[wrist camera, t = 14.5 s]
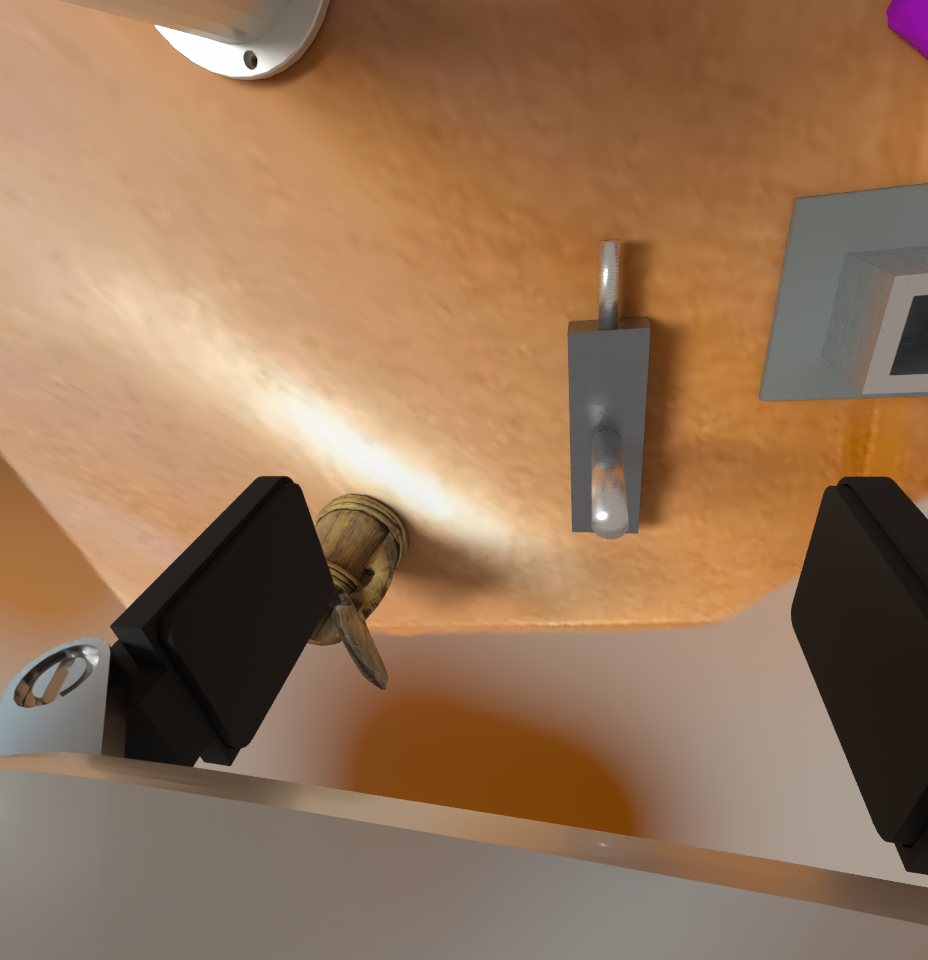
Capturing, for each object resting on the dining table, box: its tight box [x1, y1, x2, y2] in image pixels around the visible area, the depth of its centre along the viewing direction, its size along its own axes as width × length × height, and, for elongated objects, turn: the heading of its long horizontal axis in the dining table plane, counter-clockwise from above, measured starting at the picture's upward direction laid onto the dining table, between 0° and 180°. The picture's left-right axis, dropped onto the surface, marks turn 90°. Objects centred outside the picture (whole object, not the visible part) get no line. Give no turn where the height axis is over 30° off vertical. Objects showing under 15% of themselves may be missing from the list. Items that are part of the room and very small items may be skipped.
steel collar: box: [821, 245, 928, 394], centre depth 28 cm, size 6×6×6 cm
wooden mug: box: [307, 494, 409, 690], centre depth 41 cm, size 9×14×18 cm, turn 116°
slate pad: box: [759, 183, 928, 401], centre depth 30 cm, size 12×12×1 cm
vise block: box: [568, 239, 651, 539], centre depth 32 cm, size 21×5×12 cm, turn 8°
